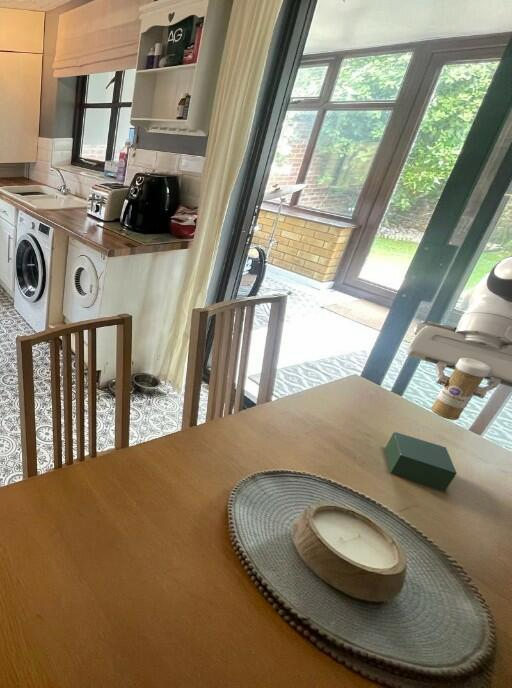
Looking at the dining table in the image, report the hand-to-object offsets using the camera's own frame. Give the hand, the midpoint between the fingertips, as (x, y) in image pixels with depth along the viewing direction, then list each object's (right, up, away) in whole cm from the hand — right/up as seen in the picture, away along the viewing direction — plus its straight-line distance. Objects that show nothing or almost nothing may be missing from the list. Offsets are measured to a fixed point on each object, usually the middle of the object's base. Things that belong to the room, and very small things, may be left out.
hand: (459, 389), depth 87 cm
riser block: (-2, -20, +8) cm, 21 cm away
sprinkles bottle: (0, -6, +4) cm, 7 cm away
